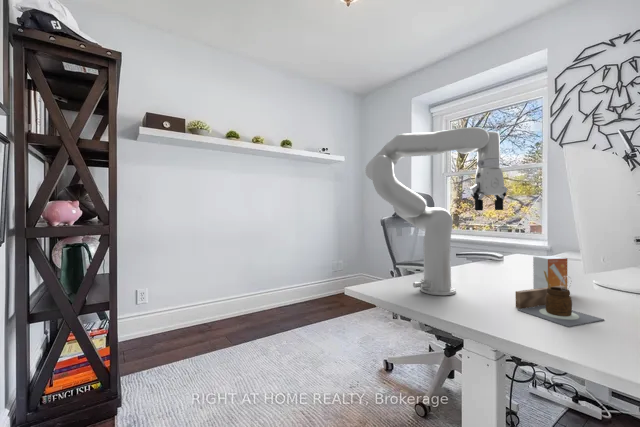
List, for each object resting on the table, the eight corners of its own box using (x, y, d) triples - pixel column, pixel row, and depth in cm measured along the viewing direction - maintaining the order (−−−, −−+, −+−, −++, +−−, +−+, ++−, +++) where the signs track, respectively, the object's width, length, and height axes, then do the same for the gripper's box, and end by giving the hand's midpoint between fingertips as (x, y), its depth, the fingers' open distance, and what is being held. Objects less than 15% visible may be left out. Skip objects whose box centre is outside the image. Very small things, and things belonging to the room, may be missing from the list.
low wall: (520, 308, 92) (520, 292, 92) (515, 307, 93) (515, 291, 93) (566, 301, 98) (566, 286, 98) (561, 300, 99) (561, 285, 99)
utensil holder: (575, 318, 82) (575, 274, 82) (547, 315, 84) (547, 272, 84) (567, 311, 87) (567, 270, 87) (541, 308, 90) (541, 269, 90)
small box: (548, 295, 105) (547, 258, 104) (532, 291, 111) (532, 256, 111) (568, 294, 106) (568, 257, 106) (552, 290, 112) (551, 255, 112)
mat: (568, 327, 77) (568, 325, 77) (517, 310, 90) (517, 308, 90) (604, 320, 81) (604, 318, 81) (550, 305, 94) (550, 303, 94)
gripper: (478, 163, 107) (479, 210, 108) (514, 164, 113) (515, 209, 113) (462, 166, 115) (463, 210, 115) (497, 167, 120) (498, 210, 120)
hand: (489, 210), depth 114 cm, fingers open, 9 cm apart
